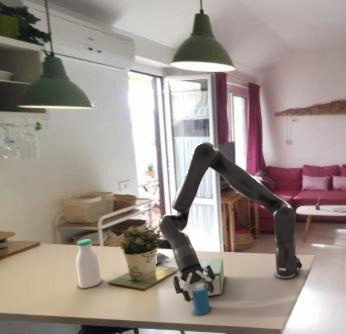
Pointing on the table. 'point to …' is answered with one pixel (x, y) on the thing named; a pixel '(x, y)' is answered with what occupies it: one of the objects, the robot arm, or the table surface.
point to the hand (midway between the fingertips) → (201, 296)
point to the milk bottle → (87, 265)
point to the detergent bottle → (200, 299)
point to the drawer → (215, 284)
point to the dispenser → (215, 269)
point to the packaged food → (161, 257)
